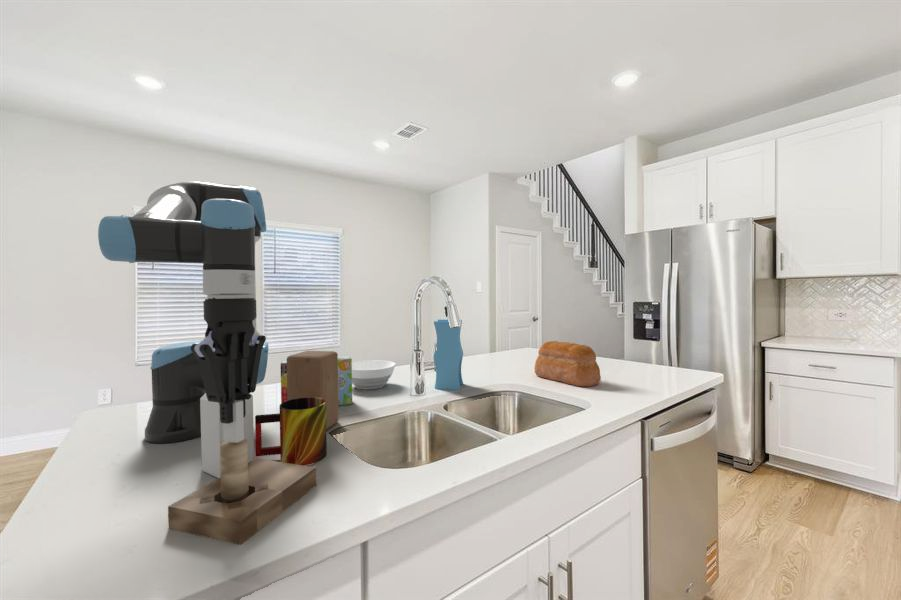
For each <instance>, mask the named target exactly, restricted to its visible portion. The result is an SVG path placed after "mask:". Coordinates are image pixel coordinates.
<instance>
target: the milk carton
mask: <svg viewBox="0 0 901 600" xmlns="http://www.w3.org/2000/svg"><path fill="white" fill-rule="evenodd" d="M248 395H251V398H250V399H248V400H247V399H245V406H246V410H245V411H246V414H245V417H244V418H243V419H244V439H247V440H248V462H250V461H252V460H254V459H255V436H254V434H255V433H254V431H255V429H254V428H255V427H254V398H253V397H254V396H253V394H252V393H249V394H248ZM200 414H201V436H200V444H201V445H200V446H201V447H200V448H201V449H200V450H201V471H202V472H204V473H207V474H209V475H211V476H212V477H213V476H214V477H215V478H218V479H219V478H221V471H220V444H221V443H223V442H225V441H224V439H223V423H221V421H220V404H219V403H218V402H210V401H208V400H207V396H206V393H205V394H204V395H203V396H202V397H201V398H200Z"/></svg>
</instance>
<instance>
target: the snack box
mask: <svg viewBox="0 0 901 600" xmlns="http://www.w3.org/2000/svg"><path fill="white" fill-rule="evenodd" d="M352 360H353V359H352V357H351V356H350V355H347V356H345V355H344V356H338V407H339V406H346V405H347V406H349V405H353V384H352V362H353V361H352ZM280 362H281V363H280V400H281V401H280V404H281V403H283V402H285V401H287V359H286V360H284V359H283V360H281V361H280Z"/></svg>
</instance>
